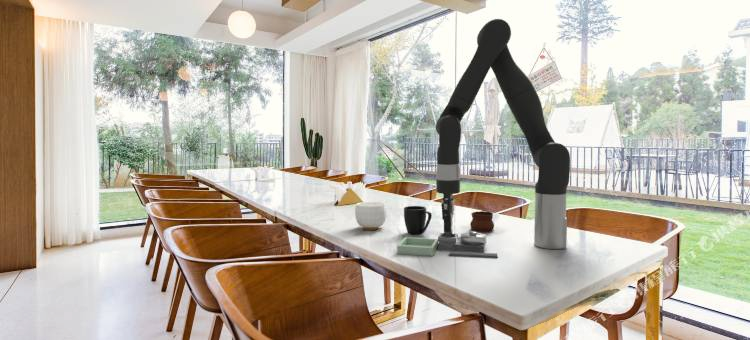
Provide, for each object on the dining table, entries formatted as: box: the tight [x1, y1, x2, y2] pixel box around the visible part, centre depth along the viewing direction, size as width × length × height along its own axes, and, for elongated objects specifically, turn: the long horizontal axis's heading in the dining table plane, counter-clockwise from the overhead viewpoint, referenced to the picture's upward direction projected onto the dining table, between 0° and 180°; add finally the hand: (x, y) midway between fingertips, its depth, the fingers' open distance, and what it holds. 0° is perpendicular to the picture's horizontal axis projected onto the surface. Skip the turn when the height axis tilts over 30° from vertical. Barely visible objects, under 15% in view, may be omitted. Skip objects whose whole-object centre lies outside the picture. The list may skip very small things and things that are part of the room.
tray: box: [396, 236, 439, 257], centre depth 130 cm, size 11×11×2 cm
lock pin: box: [443, 205, 455, 237], centre depth 134 cm, size 4×4×11 cm
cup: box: [354, 201, 387, 231], centre depth 162 cm, size 12×12×10 cm
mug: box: [403, 205, 433, 236], centre depth 151 cm, size 8×12×10 cm
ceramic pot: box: [469, 210, 495, 233], centre depth 156 cm, size 18×18×7 cm
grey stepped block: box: [437, 230, 487, 253], centre depth 133 cm, size 15×10×5 cm
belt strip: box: [448, 250, 498, 259], centre depth 123 cm, size 14×2×1 cm, turn 78°
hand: (448, 230), depth 134 cm, fingers closed on lock pin, 2 cm apart
